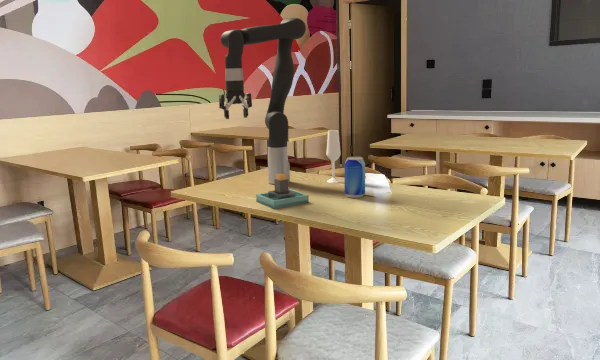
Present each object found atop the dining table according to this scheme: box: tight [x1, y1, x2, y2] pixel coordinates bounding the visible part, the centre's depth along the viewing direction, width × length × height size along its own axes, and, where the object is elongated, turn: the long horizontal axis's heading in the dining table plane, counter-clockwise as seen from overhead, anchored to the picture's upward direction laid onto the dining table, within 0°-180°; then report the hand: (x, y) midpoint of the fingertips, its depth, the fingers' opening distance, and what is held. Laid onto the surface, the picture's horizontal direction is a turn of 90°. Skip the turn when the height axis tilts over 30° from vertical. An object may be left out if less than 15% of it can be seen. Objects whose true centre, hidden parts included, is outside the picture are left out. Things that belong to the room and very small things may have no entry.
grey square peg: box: [273, 174, 290, 194], centre depth 194 cm, size 4×4×10 cm
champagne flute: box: [325, 129, 341, 184], centre depth 228 cm, size 7×7×24 cm
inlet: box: [268, 189, 296, 200], centre depth 195 cm, size 8×8×3 cm
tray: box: [255, 188, 310, 210], centre depth 195 cm, size 16×14×3 cm
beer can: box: [344, 156, 366, 199], centre depth 201 cm, size 8×8×16 cm
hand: (236, 118), depth 209 cm, fingers open, 8 cm apart
